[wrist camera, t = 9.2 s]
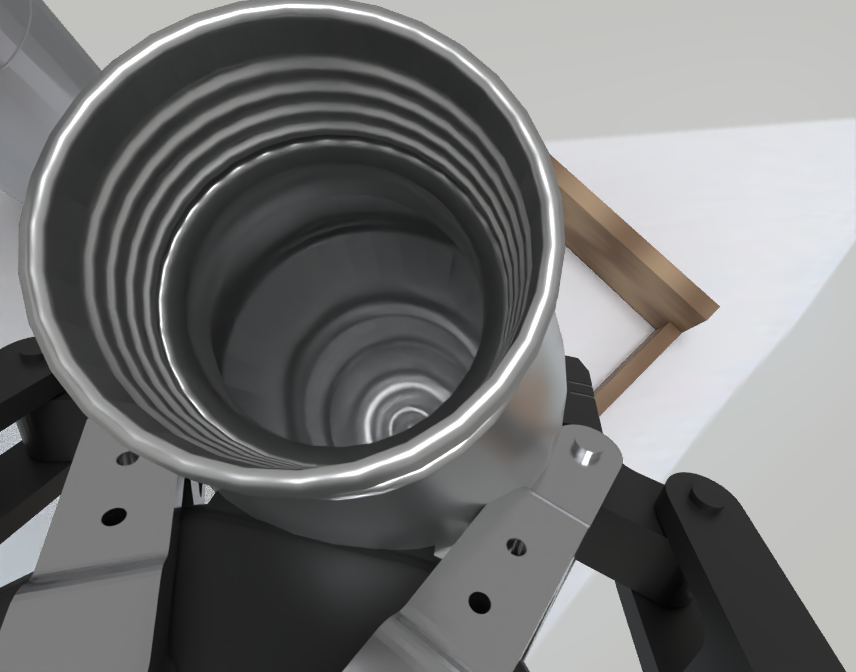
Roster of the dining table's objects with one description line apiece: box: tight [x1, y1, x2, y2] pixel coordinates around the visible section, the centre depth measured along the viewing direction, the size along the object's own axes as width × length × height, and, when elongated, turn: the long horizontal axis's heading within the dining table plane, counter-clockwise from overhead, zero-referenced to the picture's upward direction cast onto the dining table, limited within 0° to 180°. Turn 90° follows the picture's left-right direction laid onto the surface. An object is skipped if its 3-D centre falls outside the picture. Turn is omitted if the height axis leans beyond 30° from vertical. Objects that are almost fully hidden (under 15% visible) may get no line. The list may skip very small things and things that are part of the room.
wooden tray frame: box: [442, 154, 720, 559], centre depth 31 cm, size 14×22×5 cm, turn 133°
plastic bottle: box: [18, 0, 567, 559], centre depth 13 cm, size 6×7×20 cm
